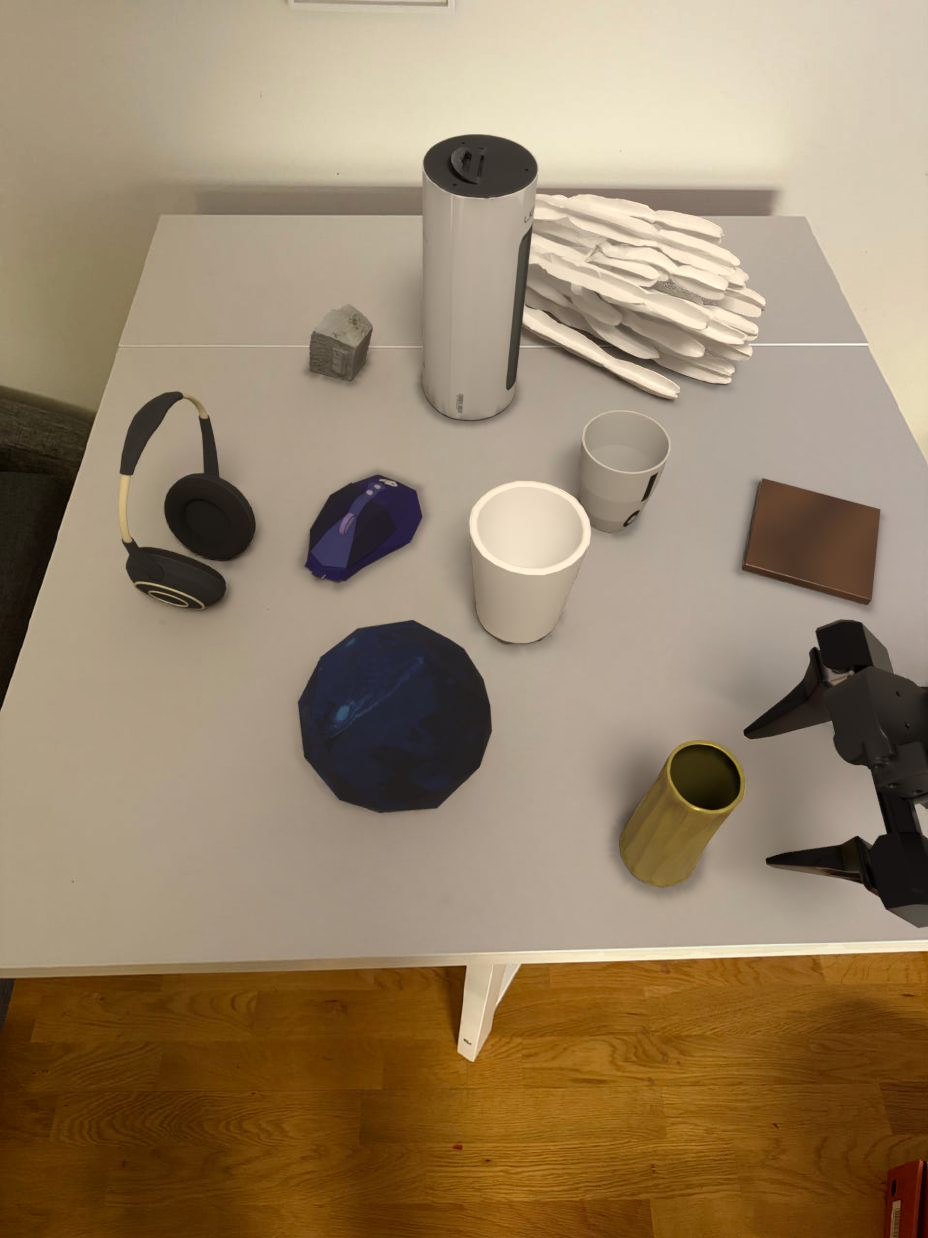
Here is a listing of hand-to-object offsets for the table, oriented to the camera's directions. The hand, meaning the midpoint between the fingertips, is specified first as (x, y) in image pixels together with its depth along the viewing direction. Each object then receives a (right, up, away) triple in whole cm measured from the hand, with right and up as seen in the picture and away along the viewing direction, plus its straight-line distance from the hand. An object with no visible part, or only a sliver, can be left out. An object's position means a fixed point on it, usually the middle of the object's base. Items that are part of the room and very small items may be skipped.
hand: (756, 796), depth 59 cm
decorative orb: (-25, +1, +13) cm, 28 cm away
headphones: (-44, +16, +23) cm, 52 cm away
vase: (-5, -6, +9) cm, 12 cm away
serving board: (+15, +20, +27) cm, 37 cm away
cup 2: (-5, +23, +29) cm, 37 cm away
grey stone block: (-33, +40, +39) cm, 65 cm away
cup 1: (-15, +12, +21) cm, 29 cm away
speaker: (-19, +38, +38) cm, 57 cm away
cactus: (-3, +46, +44) cm, 64 cm away
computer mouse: (-30, +21, +26) cm, 45 cm away
